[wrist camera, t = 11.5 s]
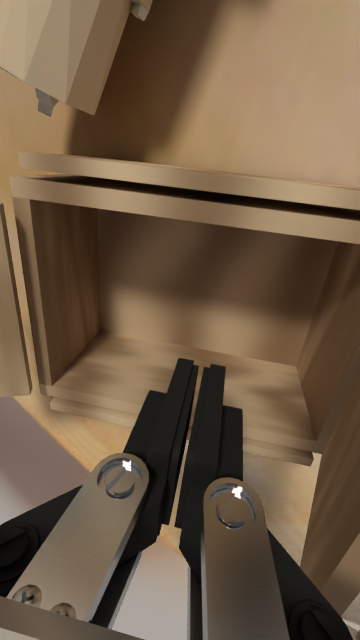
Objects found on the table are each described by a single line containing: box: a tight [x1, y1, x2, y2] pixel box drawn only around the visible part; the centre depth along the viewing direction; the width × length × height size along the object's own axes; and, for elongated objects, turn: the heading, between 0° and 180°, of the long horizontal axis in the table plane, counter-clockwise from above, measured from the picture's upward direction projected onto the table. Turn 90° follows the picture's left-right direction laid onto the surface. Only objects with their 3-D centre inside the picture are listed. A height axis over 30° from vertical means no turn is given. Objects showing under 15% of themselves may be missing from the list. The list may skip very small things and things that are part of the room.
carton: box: [9, 151, 360, 466], centre depth 18 cm, size 17×14×8 cm
